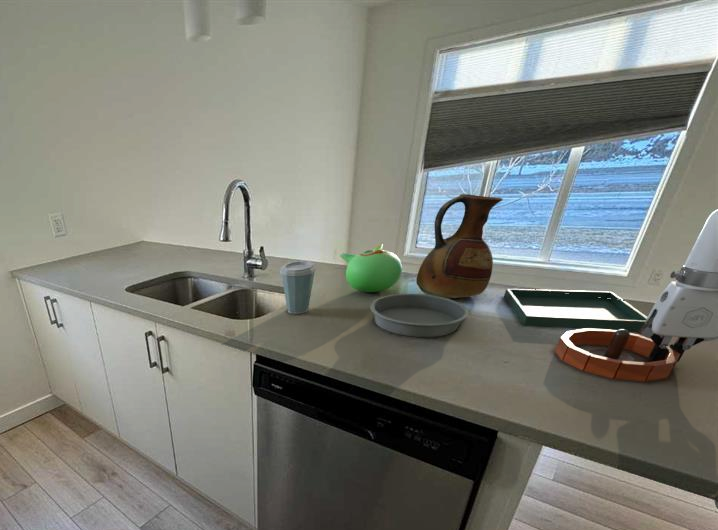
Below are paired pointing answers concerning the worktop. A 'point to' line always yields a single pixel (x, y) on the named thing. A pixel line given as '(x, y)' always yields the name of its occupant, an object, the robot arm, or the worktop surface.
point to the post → (616, 347)
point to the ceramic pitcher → (459, 253)
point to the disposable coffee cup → (298, 285)
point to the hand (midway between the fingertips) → (661, 363)
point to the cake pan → (418, 314)
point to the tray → (574, 309)
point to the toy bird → (372, 269)
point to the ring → (609, 365)
